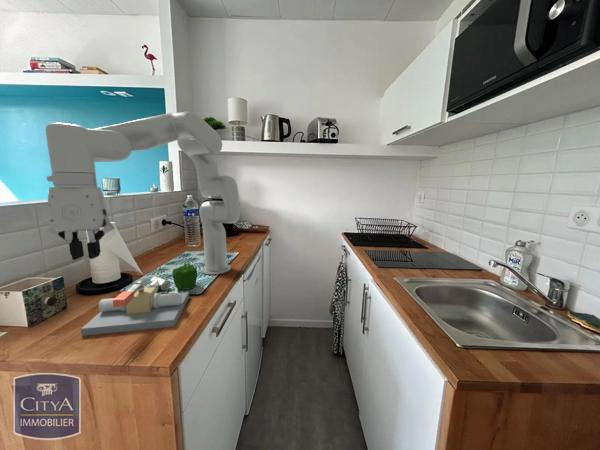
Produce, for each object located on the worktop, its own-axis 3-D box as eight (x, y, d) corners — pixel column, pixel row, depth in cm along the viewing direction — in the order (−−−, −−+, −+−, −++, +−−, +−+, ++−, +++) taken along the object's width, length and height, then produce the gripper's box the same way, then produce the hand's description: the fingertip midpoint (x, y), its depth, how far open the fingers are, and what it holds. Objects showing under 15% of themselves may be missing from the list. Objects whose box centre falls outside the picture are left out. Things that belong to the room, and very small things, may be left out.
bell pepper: (171, 287, 94) (169, 262, 92) (193, 281, 99) (191, 257, 98) (177, 294, 88) (175, 267, 86) (201, 288, 93) (199, 262, 92)
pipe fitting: (152, 296, 88) (171, 288, 93) (151, 286, 87) (169, 278, 92) (142, 290, 92) (160, 283, 98) (140, 281, 91) (158, 274, 97)
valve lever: (137, 289, 75) (136, 279, 74) (149, 288, 75) (147, 278, 75) (112, 312, 61) (111, 300, 60) (127, 311, 62) (125, 299, 61)
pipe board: (117, 303, 81) (114, 283, 80) (189, 297, 86) (187, 278, 84) (82, 335, 64) (78, 310, 62) (174, 326, 68) (172, 302, 67)
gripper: (18, 180, 52) (33, 264, 55) (106, 181, 55) (116, 260, 58) (46, 181, 59) (58, 255, 62) (123, 181, 62) (130, 251, 65)
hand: (86, 257), depth 60 cm, fingers open, 2 cm apart
